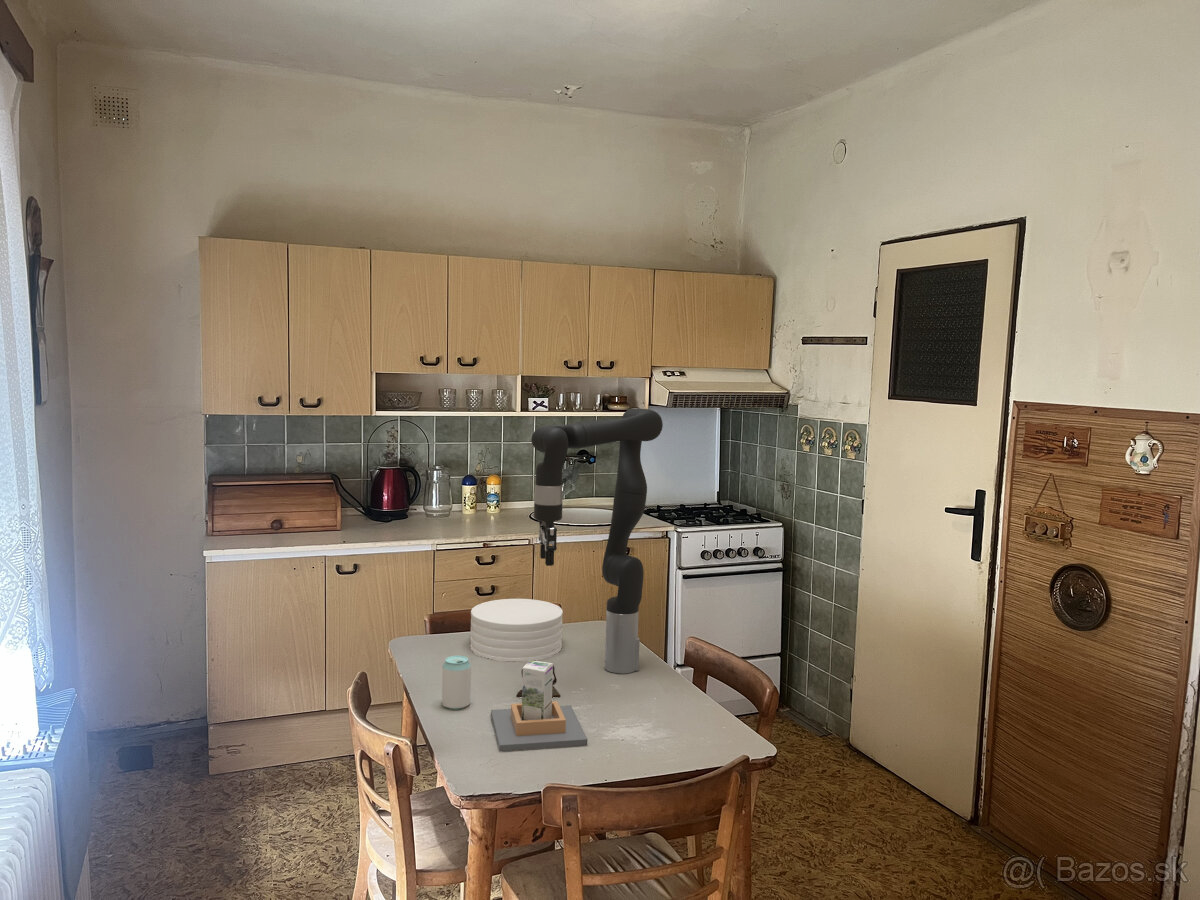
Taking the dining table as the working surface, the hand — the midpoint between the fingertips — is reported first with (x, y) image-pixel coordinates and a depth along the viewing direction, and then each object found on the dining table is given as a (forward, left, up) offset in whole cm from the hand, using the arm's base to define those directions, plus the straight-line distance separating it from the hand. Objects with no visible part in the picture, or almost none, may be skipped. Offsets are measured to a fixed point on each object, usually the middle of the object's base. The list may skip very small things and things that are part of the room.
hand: (546, 561), depth 225 cm
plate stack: (+3, -34, -34) cm, 48 cm away
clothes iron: (+3, +6, -34) cm, 35 cm away
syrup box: (+6, +28, -33) cm, 44 cm away
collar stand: (+6, +28, -34) cm, 45 cm away
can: (+24, +10, -34) cm, 43 cm away
